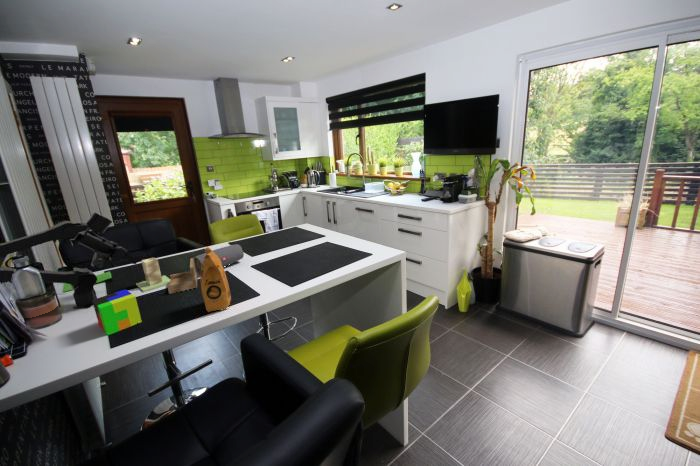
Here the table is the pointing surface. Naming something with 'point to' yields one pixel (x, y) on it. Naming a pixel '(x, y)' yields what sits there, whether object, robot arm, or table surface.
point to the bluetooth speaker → (222, 256)
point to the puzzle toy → (116, 311)
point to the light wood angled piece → (183, 280)
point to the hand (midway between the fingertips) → (133, 260)
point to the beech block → (152, 271)
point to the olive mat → (146, 287)
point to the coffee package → (214, 283)
